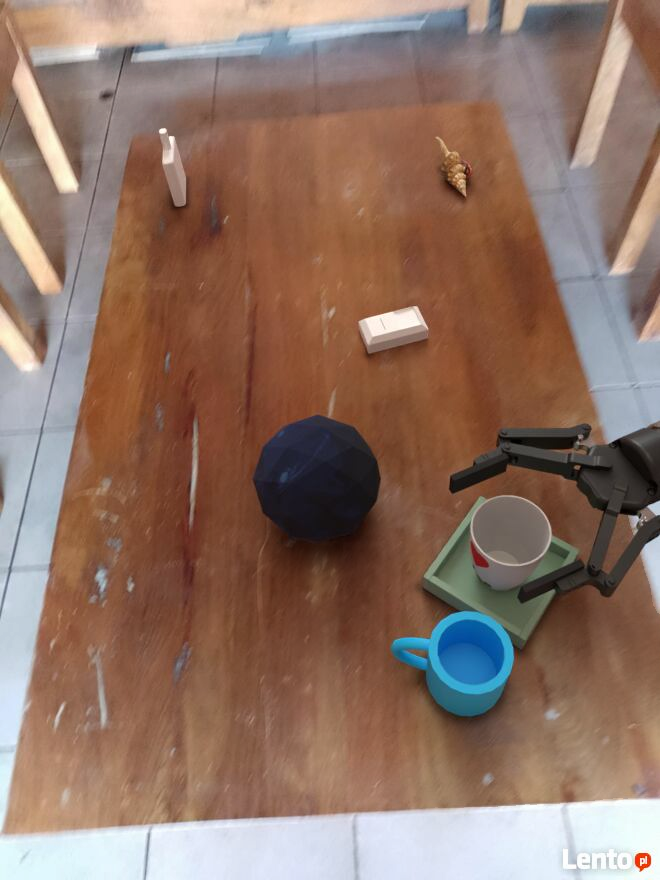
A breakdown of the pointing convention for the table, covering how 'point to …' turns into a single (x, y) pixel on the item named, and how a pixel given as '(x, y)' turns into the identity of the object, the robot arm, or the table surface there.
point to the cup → (507, 541)
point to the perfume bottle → (173, 168)
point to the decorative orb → (317, 479)
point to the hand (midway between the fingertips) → (483, 537)
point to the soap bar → (393, 329)
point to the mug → (462, 661)
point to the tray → (467, 593)
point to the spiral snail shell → (455, 168)
